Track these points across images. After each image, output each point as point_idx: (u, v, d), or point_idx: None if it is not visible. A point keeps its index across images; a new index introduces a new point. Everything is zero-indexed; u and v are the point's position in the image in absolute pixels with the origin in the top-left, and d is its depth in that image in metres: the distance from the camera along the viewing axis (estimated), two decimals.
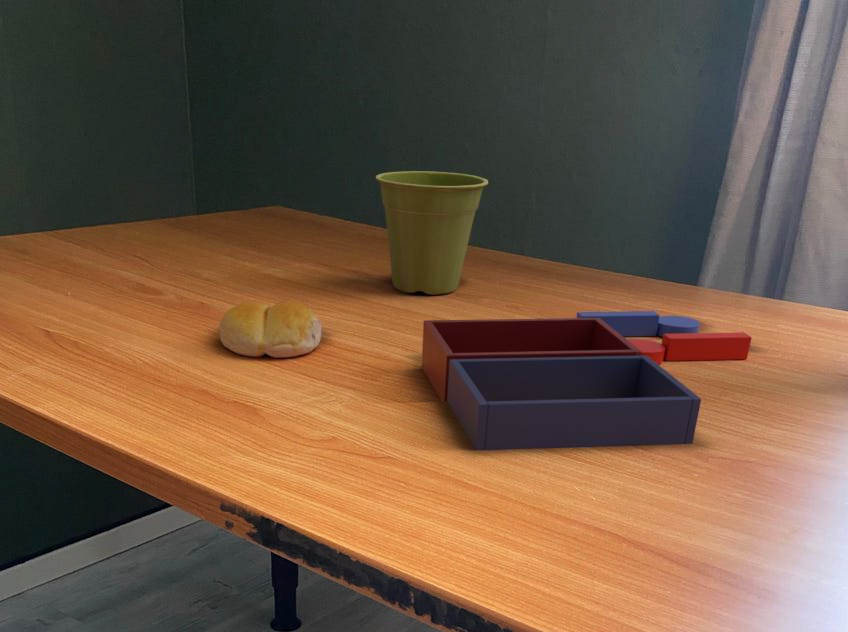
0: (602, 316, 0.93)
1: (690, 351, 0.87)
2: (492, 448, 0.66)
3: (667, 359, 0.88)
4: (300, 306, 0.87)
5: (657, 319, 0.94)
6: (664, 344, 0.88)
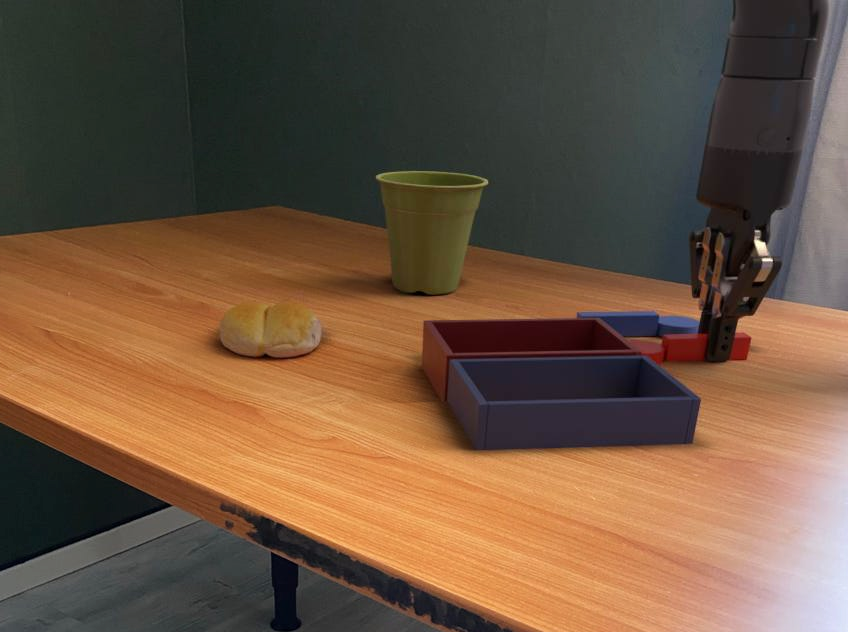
0: (602, 316, 0.93)
1: (690, 352, 0.88)
2: (492, 448, 0.66)
3: (667, 360, 0.88)
4: (300, 306, 0.87)
5: (657, 319, 0.94)
6: (664, 345, 0.88)
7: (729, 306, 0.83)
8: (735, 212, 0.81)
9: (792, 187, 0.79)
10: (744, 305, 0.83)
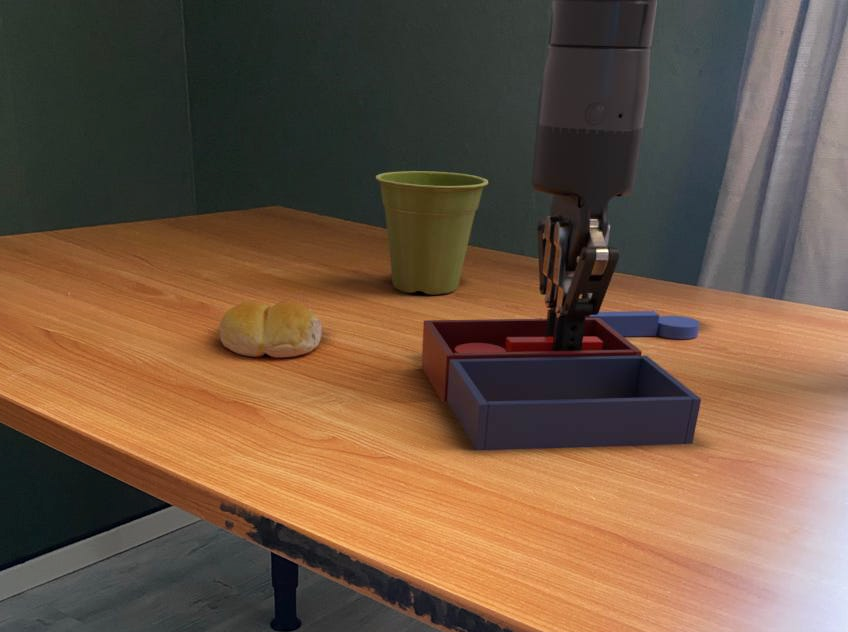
0: (602, 316, 0.93)
1: None
2: (492, 448, 0.66)
3: None
4: (300, 306, 0.87)
5: (657, 319, 0.94)
6: (507, 349, 0.80)
7: (569, 304, 0.74)
8: (571, 199, 0.73)
9: (631, 170, 0.71)
10: (586, 303, 0.75)
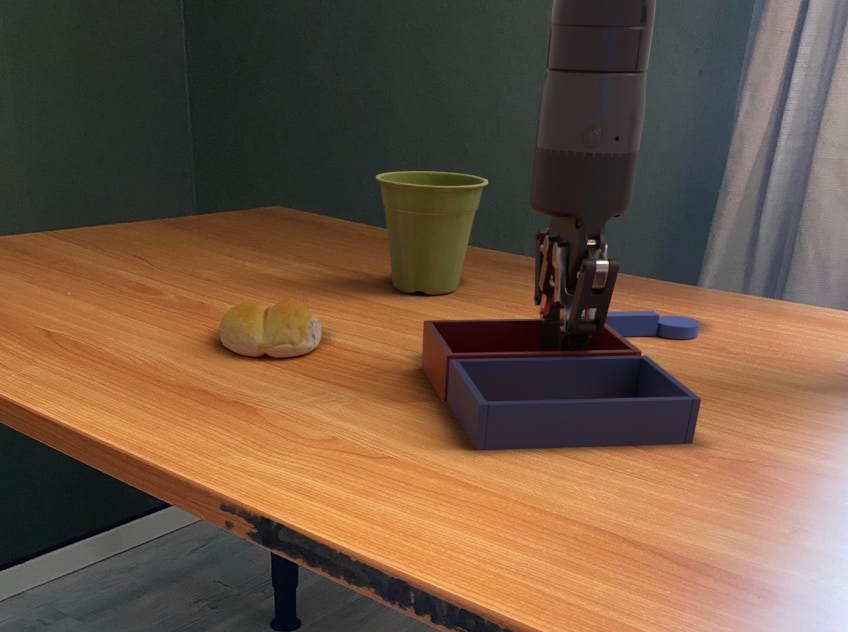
0: None
1: None
2: (492, 448, 0.66)
3: None
4: (300, 306, 0.87)
5: (657, 319, 0.94)
6: None
7: (572, 325, 0.74)
8: (569, 219, 0.73)
9: (628, 192, 0.72)
10: (590, 323, 0.74)
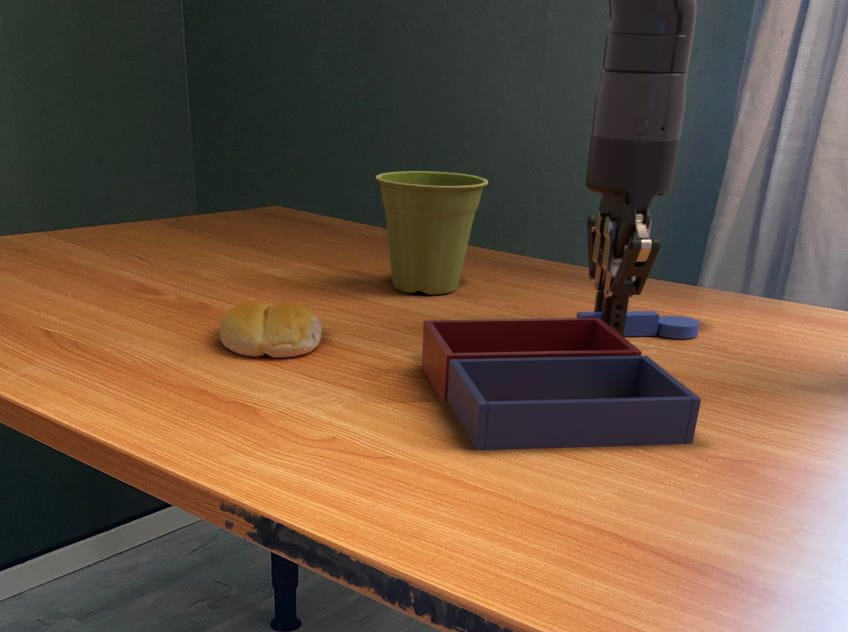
0: None
1: None
2: (492, 448, 0.66)
3: None
4: (300, 306, 0.87)
5: (657, 319, 0.94)
6: None
7: (616, 285, 0.89)
8: (619, 197, 0.87)
9: (670, 174, 0.85)
10: (631, 284, 0.89)
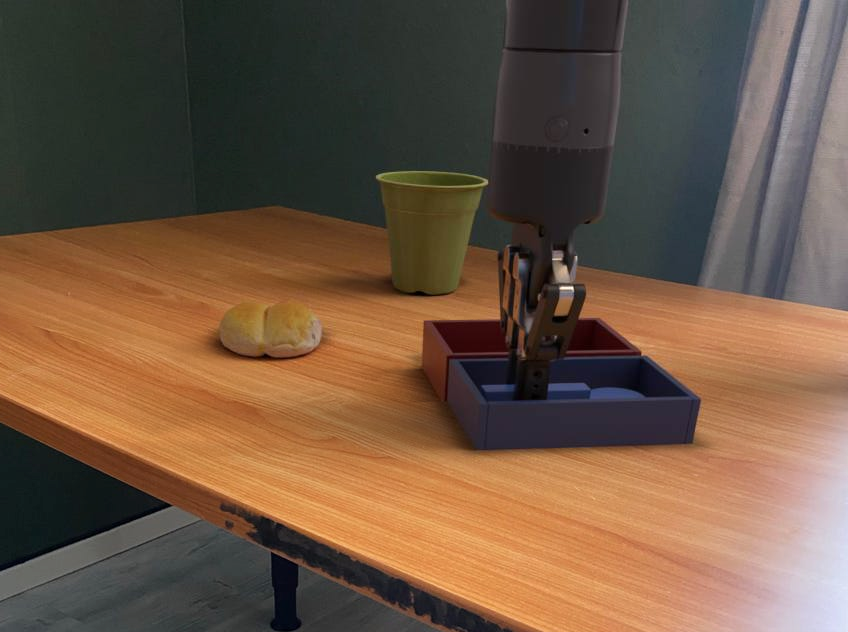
0: (513, 391, 0.69)
1: None
2: (492, 448, 0.66)
3: None
4: (300, 306, 0.87)
5: (588, 395, 0.70)
6: None
7: (530, 347, 0.64)
8: (532, 226, 0.62)
9: (601, 194, 0.61)
10: (550, 346, 0.64)
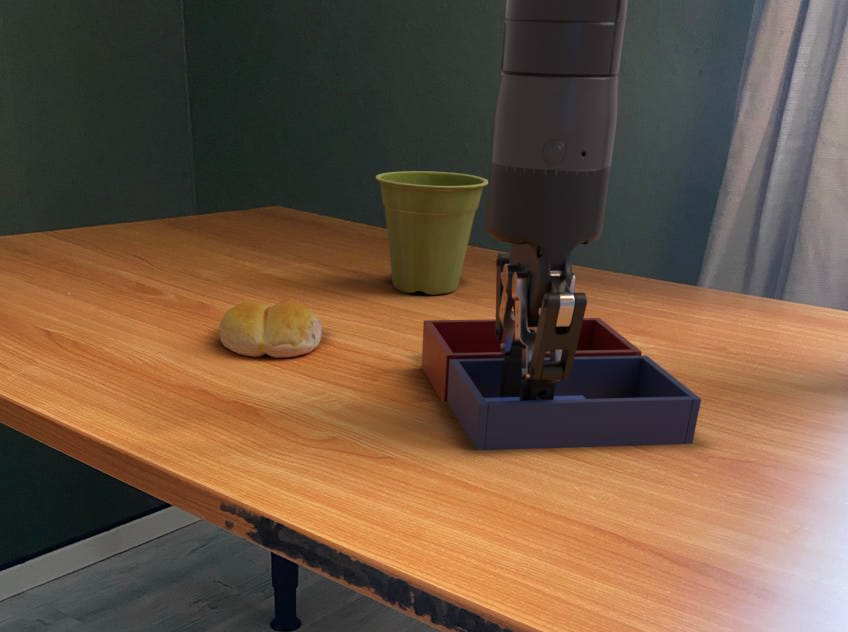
0: None
1: None
2: (492, 448, 0.66)
3: None
4: (300, 306, 0.87)
5: None
6: None
7: (535, 368, 0.64)
8: (530, 247, 0.63)
9: (598, 215, 0.62)
10: (555, 367, 0.64)
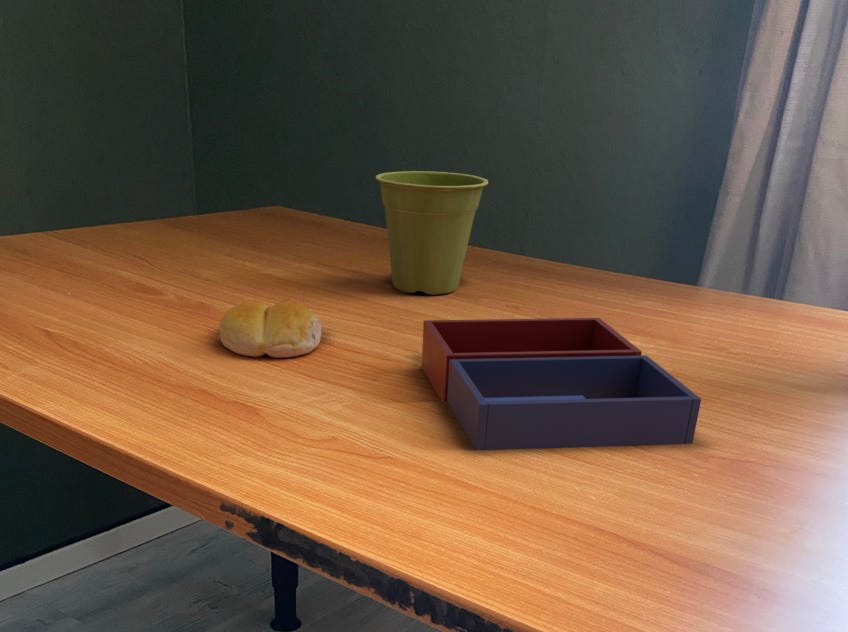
0: None
1: None
2: (492, 448, 0.66)
3: None
4: (300, 306, 0.87)
5: None
6: None
7: None
8: None
9: None
10: None
